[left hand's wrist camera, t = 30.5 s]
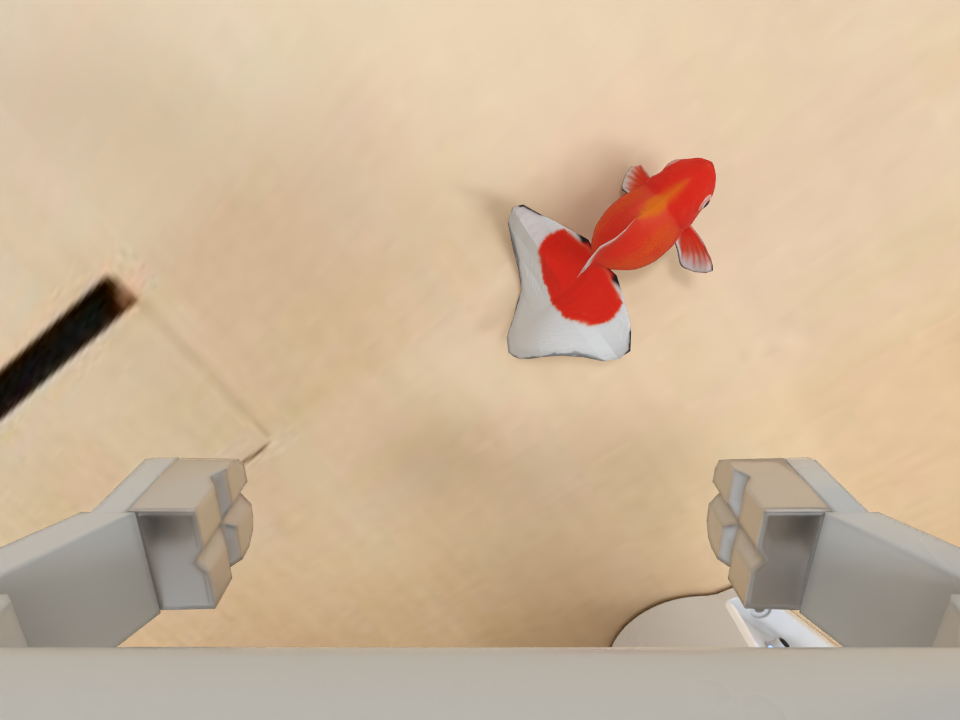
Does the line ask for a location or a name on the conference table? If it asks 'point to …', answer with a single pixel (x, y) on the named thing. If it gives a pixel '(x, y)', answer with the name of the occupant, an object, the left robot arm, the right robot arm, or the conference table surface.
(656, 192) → the fish
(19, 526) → the conference table surface
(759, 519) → the left robot arm
